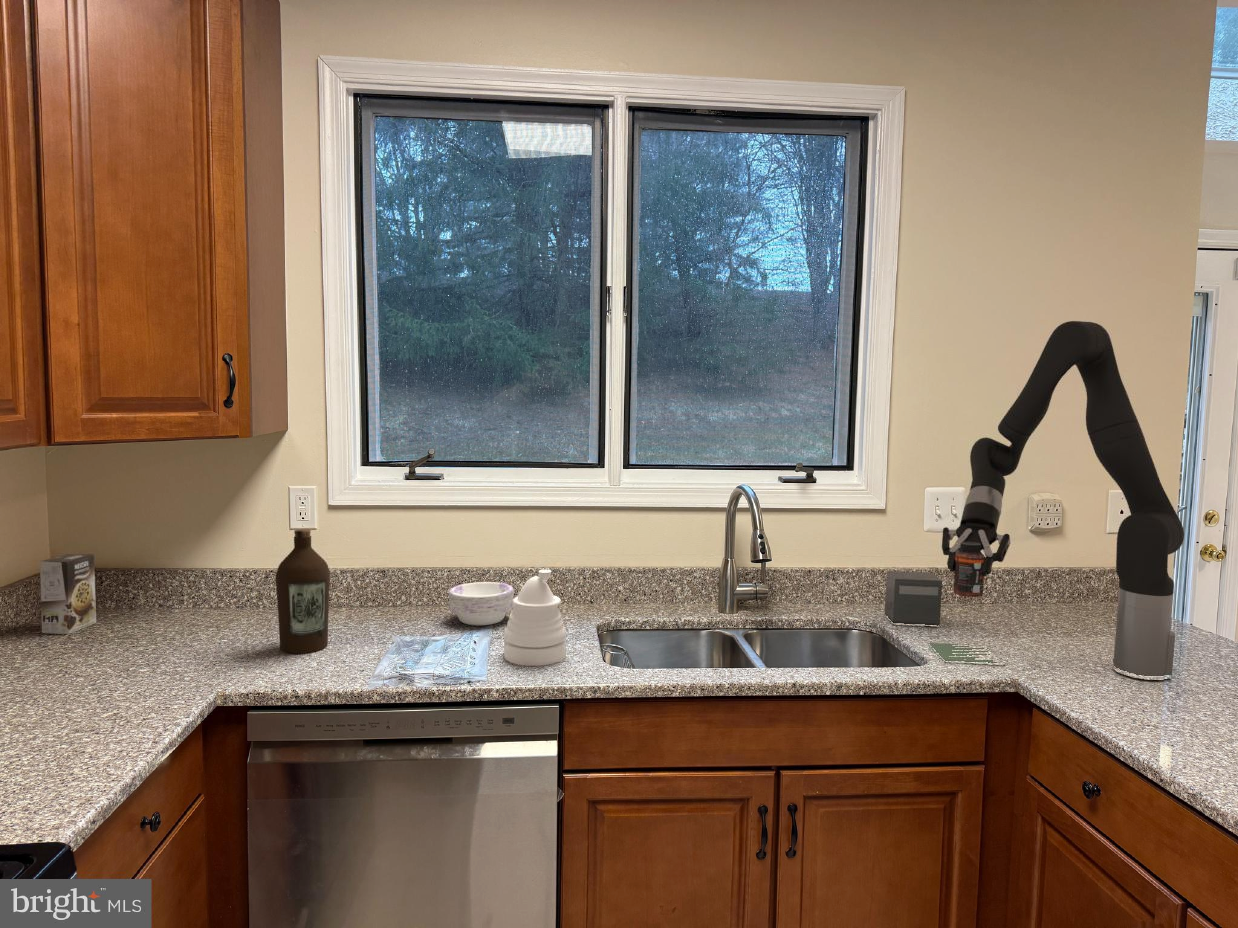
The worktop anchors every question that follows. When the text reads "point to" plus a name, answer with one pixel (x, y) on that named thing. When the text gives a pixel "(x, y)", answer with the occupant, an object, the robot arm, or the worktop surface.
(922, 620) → the charcoal unit
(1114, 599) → the worktop surface
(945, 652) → the sage mat
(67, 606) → the coffee box
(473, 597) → the white and purple bowl
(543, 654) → the honey pot
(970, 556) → the supplement bottle
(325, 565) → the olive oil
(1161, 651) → the robot arm
